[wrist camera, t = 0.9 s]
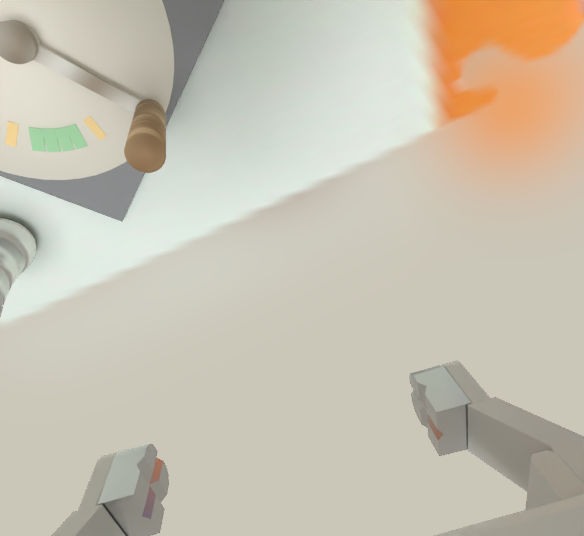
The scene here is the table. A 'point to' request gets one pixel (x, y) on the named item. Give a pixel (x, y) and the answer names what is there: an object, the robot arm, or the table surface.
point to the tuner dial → (87, 104)
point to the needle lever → (147, 113)
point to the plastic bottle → (13, 254)
